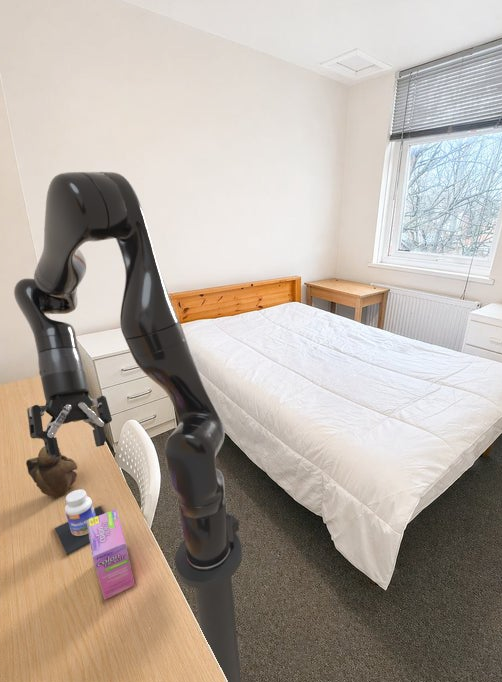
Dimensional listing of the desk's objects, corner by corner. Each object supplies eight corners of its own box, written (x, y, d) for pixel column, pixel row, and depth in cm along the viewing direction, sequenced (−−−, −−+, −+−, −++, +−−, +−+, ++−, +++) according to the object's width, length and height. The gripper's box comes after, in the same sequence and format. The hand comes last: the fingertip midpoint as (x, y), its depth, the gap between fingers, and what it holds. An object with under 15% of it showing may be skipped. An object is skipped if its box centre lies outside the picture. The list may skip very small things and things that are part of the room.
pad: (100, 507, 90) (99, 505, 90) (115, 529, 83) (114, 527, 83) (55, 529, 83) (54, 528, 83) (67, 555, 77) (66, 554, 77)
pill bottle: (72, 540, 80) (61, 507, 76) (70, 524, 84) (60, 492, 80) (98, 530, 83) (90, 497, 79) (96, 515, 87) (88, 484, 83)
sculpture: (83, 461, 101) (69, 436, 90) (81, 497, 95) (66, 475, 84) (39, 468, 98) (19, 443, 86) (34, 507, 92) (12, 485, 80)
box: (136, 585, 71) (125, 542, 66) (104, 601, 68) (91, 557, 63) (126, 548, 78) (116, 508, 74) (98, 561, 76) (85, 519, 71)
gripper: (29, 371, 63) (47, 460, 62) (107, 366, 75) (123, 440, 74) (13, 381, 67) (29, 464, 66) (89, 374, 79) (104, 444, 78)
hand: (79, 451), depth 70 cm, fingers open, 8 cm apart
